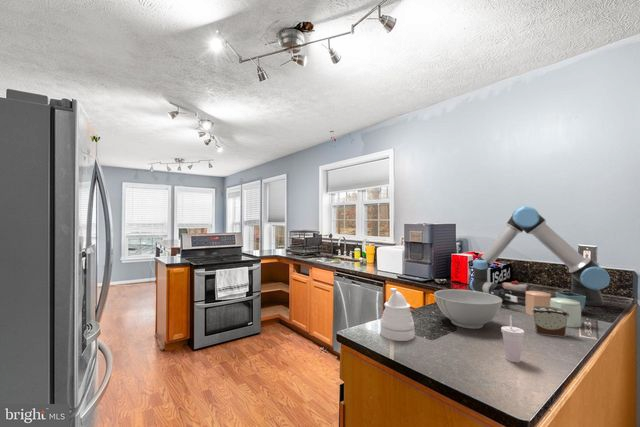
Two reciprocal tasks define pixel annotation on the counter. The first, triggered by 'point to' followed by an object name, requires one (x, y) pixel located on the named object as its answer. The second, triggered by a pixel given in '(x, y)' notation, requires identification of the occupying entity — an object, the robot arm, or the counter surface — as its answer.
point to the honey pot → (397, 318)
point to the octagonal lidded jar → (536, 300)
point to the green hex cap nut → (569, 310)
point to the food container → (550, 320)
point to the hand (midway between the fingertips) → (527, 298)
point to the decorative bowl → (468, 307)
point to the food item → (516, 287)
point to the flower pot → (572, 297)
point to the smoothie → (512, 342)
